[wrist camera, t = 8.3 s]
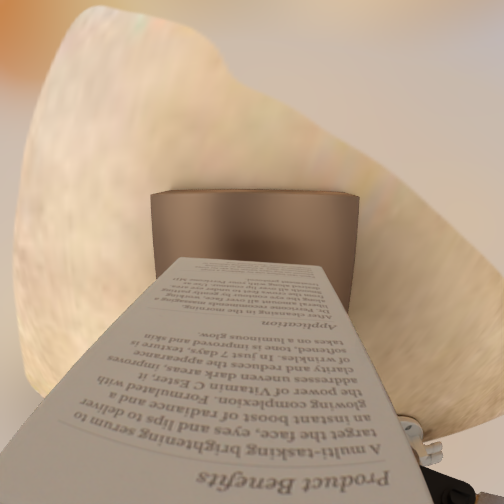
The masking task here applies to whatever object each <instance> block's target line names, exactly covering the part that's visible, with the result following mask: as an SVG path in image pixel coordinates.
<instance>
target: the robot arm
mask: <svg viewBox="0 0 504 504" xmlns="http://www.w3.org/2000/svg"><path fill="white" fill-rule="evenodd" d="M398 418H399V420H400V423H401V425H402V427H403V429H404V432H405V434H406V436H407V438H408V441H409V443H410V445H411V448H412V450H413V453H414V455H415V458H416V460H417V462H418V465H419V467H420V469H421V472H422V474H423V477H424V479H425V482H426V484H427V487H428V489H429V492H430V494H431V497H432V500H433V503H434V504H504V497H502V496H497V495H493V494H489V493H484V492H480V493H479V494H476V493H475V491H474V489H473V488H472V487H471V486H470V484H468V483H466V482H464V481H461V480H458V479H455V478H452V477H449V476H447V475H444V474H441V473H439V472H436V471H434V470H431V469H429V468H426V467H424V466H429V465H432V464H436V463H439V462H440V461H441V460H442V458H443V454H442V451H441V450H442V443H441V442H436V443H432V444H430V445H427V446H426V445H423V443H422V439H423V430H422V428H421V426H420V424H419V422H417V421H416V420H415V419H413V418H410V417H404V416H398Z"/></svg>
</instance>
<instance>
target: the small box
mask: <svg viewBox="0 0 504 504" xmlns="http://www.w3.org/2000/svg"><path fill="white" fill-rule="evenodd" d="M0 504H434V503H433V500H432V497H431V494H430V492H429V489H428V487H427V484H426V482H425V479H424V477H423V474H422V472H421V469H420V467H419V465H418V462H417V460H416V458H415V455H414V453H413V450H412V448H411V445H410V443H409V441H408V438H407V436H406V434H405V432H404V429H403V427H402V425H401V423H400V420H399V418H398V416H397V414H396V412H395V409H394V407H393V405H392V402H391V400H390V398H389V396H388V394H387V392H386V390H385V388H384V386H383V384H382V382H381V380H380V377H379V375H378V373H377V371H376V369H375V367H374V365H373V363H372V361H371V359H370V357H369V355H368V353H367V351H366V349H365V347H364V345H363V343H362V341H361V340H360V338H359V336H358V334H357V332H356V330H355V328H354V326H353V324H352V322H351V320H350V318H349V316H348V314H347V312H346V311H345V309H344V307H343V305H342V303H341V301H340V299H339V297H338V295H337V294H336V292H335V290H334V288H333V287H332V285H331V283H330V281H329V279H328V278H327V276H326V274H325V272H324V270H323V269H322V267H320V266H313V265H298V264H283V263H268V262H253V261H237V260H222V259H207V258H188V257H180V258H178V259H177V260H176V261H175V262H174V263H173V264H172V265H171V266H170V267H169V268H168V269H167V270H166V271H165V272H164V273H163V274H162V275H161V276H160V277H158V279H157V280H156V281H155V282H154V283H153V284H152V285H151V286H149V287H148V288H147V289H146V290H145V291H144V293H143V294H141V295H140V296H139V297H138V298H137V299H136V300H135V302H134V303H133V304H132V305H130V306H129V307H128V308H127V310H126V311H125V312H124V313H123V314H122V315H121V316H120V317H119V318H118V319H117V320H116V321H115V322H114V323H113V324H112V325H111V326H110V327H109V328H108V329H107V330H106V331H105V332H104V333H103V334H102V335H101V336H100V337H99V339H98V340H97V341H96V342H95V343H94V344H93V345H92V346H91V347H90V348H89V349H88V350H87V351H86V352H85V353H84V354H83V356H82V357H81V358H80V359H79V360H78V361H77V362H76V363H75V364H74V365H73V367H72V368H71V369H70V370H69V371H68V373H67V374H66V375H65V376H64V377H63V378H62V379H61V381H60V382H59V383H58V384H57V385H56V386H55V387H54V388H53V389H52V391H51V392H50V393H49V394H48V395H47V396H46V397H45V399H44V400H43V401H42V402H41V403H40V405H39V406H38V407H37V408H36V409H35V411H34V412H33V413H32V414H31V415H30V417H29V418H28V419H27V420H26V422H25V423H24V424H23V425H22V426H21V428H20V429H19V430H18V431H17V433H16V434H15V435H14V436H13V438H12V439H11V440H10V442H9V443H8V444H7V445H6V447H5V448H4V449H3V451H2V452H1V453H0Z"/></svg>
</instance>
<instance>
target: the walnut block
mask: <svg viewBox="0 0 504 504" xmlns="http://www.w3.org/2000/svg"><path fill="white" fill-rule="evenodd" d="M358 214H359V197H358V196H355V195H351V194H348V193H344V192H327V191H303V190H263V189H210V190H171V191H165V192H161V193H156V194H152V195H151V216H152V233H153V247H154V259H155V270H156V279H158V277H160V276H161V275H162V274H163V273H164V272H165V271H166V270H167V269H168V268H169V267H170V266H171V265H172V264H173V263H174V262H175V261H176V260H177V259H178V258H180V257H188V258H207V259H222V260H237V261H253V262H268V263H283V264H298V265H313V266H320V267H322V269H323V270H324V272H325V274H326V276H327V278H328V279H329V281H330V283H331V285H332V287H333V288H334V290H335V292H336V294H337V295H338V297H339V299H340V301H341V303H342V305H343V307H344V309H345V311H346V312H347V314H348V309H349V302H350V295H351V287H352V279H353V270H354V261H355V251H356V240H357V228H358Z"/></svg>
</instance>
